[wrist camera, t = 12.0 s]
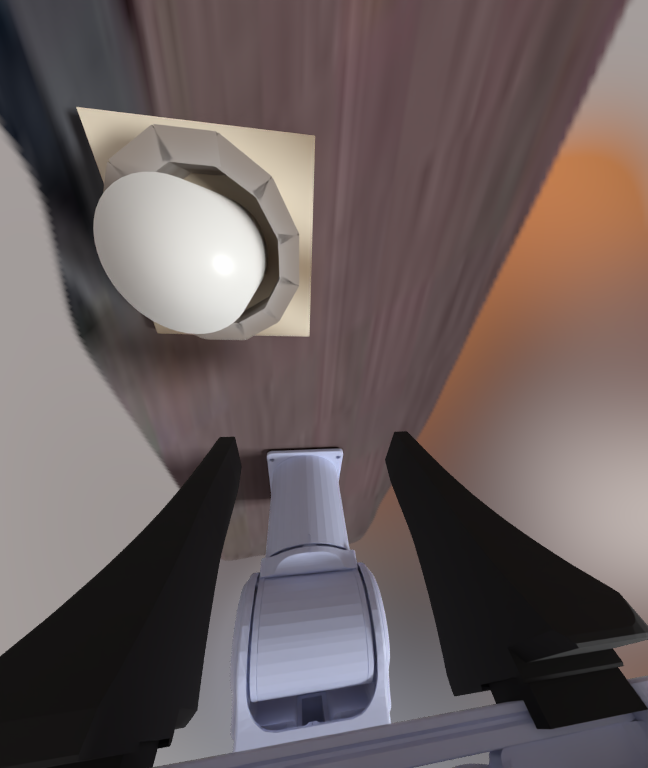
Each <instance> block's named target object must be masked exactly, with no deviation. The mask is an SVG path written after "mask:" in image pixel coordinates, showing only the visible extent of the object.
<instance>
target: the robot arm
mask: <svg viewBox="0 0 648 768" xmlns="http://www.w3.org/2000/svg"><path fill="white" fill-rule="evenodd" d="M342 457H343V451H342V449H339V448H337V449H311V450H286V451H270V452H268V453H267V462H268V471H269V479H270V488H271V503H270V514H269V525H268V536H267V547H266V558H262V560H261V569H260V573H253V574H252V575H251V577H250V579H249V580H248V581H247V582H246V584H245V585H244V587H243V589H242V592H241V596H240V600H239V604H238V609H237V615H236V621H235V628H234V635H233V643H232V655H231V670H230V683H231V691H232V718H231V719H232V720H231V738H232V740H233V741H234V743H233V753H228V754H223V755H217V756H212V757H207V758H201V759H196V760H190V761H185V762H179V763H174V764H169V765H163V766H158V767H153V764H154V760H155V756H156V752H157V749H158V748H163V747H169V746H170V745H171V742H172V738H173V734H174V730H175V729H179V728H184V727H185V726H186V725H187V724H188V723H189V721H190V720H191V718H192V717H193V716H194V714H195V712H196V711H197V708H198V700H199V692H200V685H201V677H202V670H203V663H204V655H205V648H206V641H207V635H208V628H209V622H210V615H211V609H212V603H213V597H214V591H215V585H216V579H217V574H218V568H219V563H220V558H221V553H222V549H223V545H224V541H225V537H226V533H227V530H228V526H229V522H230V518H231V515H232V511H233V507H234V503H235V500H236V496H237V492H238V487H239V480H240V473H241V462H240V458H239V453H238V448H237V444H236V439H235V437H220V438H219V439H218V440H217V441H216V443H215V444H214V446H213V447H212V448H211V450H210V451H209V453H208V454H207V455H206V457H205V458H204V459H203V461H202V462H201V463H200V465H199V466H198V467H197V469H196V470H195V471H194V472H193V474H192V475H191V476H190V478H189V479H188V480H187V481H186V483H185V484H184V485H183V486H182V487H181V489H180V490H179V491H178V492H177V493H176V495H175V496H174V497H173V498H172V499H171V500H170V502H169V503H168V504H167V505H166V506H165V507H164V508H163V510H162V511H161V512H160V513H159V514H158V515H157V516H156V517H155V518H154V519H153V520H152V521H151V522H150V524H149V525H148V526H147V527H146V528H145V529H144V530H143V531H142V532H141V533H140V534H139V535H138V536H137V537H136V538H135V539H134V540H133V541H132V542H131V543H130V544H129V545H128V546H127V547H126V548H125V549H124V550H123V551H122V552H120V554H118V556H116V557H115V558H114V559H113V560H112V561H111V562H110V563H109V564H108V565H107V566H106V567H105V568H104V569H103V570H101V571H100V572H99V573H98V574H97V575H96V576H95V577H94V578H93V579H91V580H90V581H89V582H88V583H87V584H86V585H85V586H83V587H82V588H81V589H80V590H79V591H78V592H77V593H76V594H74V595H73V596H72V597H71V598H70V599H69V600H67V601H66V602H65V603H64V604H63V605H62V606H61V607H60V608H58V609H57V610H56V611H55V612H54V613H52V614H51V615H50V616H49V617H48V618H47V619H45V620H44V621H43V622H42V623H41V624H39V625H38V626H37V627H36V628H34V629H33V630H32V631H31V632H30V633H28V634H27V635H26V636H25V637H23V638H22V639H21V640H20V641H18V642H17V643H16V644H15V645H14V646H12V647H11V648H10V649H9V650H8V651H6V652H5V653H4V654H2V655H1V656H0V768H414V767H418V766H423V765H428V764H432V763H437V762H442V761H446V760H452V759H456V758H461V757H466V756H471V755H475V754H480V753H485V752H490V753H489V758H490V761H489V765H487V764H463V765H459V766H455V767H453V768H648V676H643V677H638V678H632V679H626V678H625V676H624V675H623V674H622V672H621V671H620V669H619V668H618V667H620V666H623V662H622V661H621V659H620V658H619V657H618V655H617V654H616V652H615V651H614V650H613V648H616V647H620V646H624V645H628V644H632V643H636V642H640V641H644V640H648V625H647V624H646V623H645V622H644V621H643V620H642V619H641V617H640V616H639V615H638V614H637V613H636V612H635V610H634V609H633V608H632V607H631V606H630V605H629V604H628V602H627V601H626V600H625V599H624V598H623V597H622V596H621V595H620V593H619V592H617V591H615V590H613V589H612V588H610V587H609V586H607V585H605V584H603V583H602V582H600V581H599V580H597V579H595V578H593V577H592V576H590V575H588V574H587V573H585V572H583V571H582V570H580V569H578V568H576V567H575V566H573V565H572V564H570V563H568V562H567V561H565V560H563V559H562V558H560V557H559V556H557V555H556V554H554V553H553V552H551V551H550V550H548V549H547V548H545V547H543V546H542V545H540V544H539V543H537V542H536V541H535V540H533V539H532V538H530V537H529V536H527V535H526V534H524V533H523V532H522V531H520V530H518V529H517V528H516V527H514V526H513V525H512V524H510V523H509V522H507V521H506V520H504V519H503V518H502V517H501V516H499V515H498V514H497V513H495V512H494V511H493V510H492V509H490V508H489V507H488V506H487V505H485V504H484V503H483V502H482V501H480V500H479V499H478V498H477V497H475V496H474V495H473V494H472V493H471V492H469V491H468V490H467V489H466V488H465V487H464V486H463V485H461V484H460V483H459V482H458V481H457V480H456V479H454V477H453V476H451V475H450V474H449V473H448V472H447V471H446V470H445V469H444V468H443V467H442V466H441V465H440V464H439V463H438V462H437V461H436V460H435V459H434V458H433V457H432V456H431V455H430V454H429V453H428V452H427V451H426V450H425V449H424V448H423V447H422V446H421V445H420V444H419V443H418V442H417V441H416V440H415V439H414V438H413V437H412V436H411V435H410V434H409V433H408V432H407V431H405V432H394V435H393V438H392V441H391V444H390V447H389V450H388V453H387V456H386V459H385V461H386V465H387V469H388V473H389V477H390V481H391V483H392V486H393V489H394V491H395V494H396V497H397V499H398V502H399V504H400V507H401V509H402V512H403V514H404V517H405V519H406V522H407V525H408V527H409V530H410V532H411V535H412V538H413V541H414V544H415V548H416V551H417V554H418V558H419V561H420V565H421V568H422V572H423V575H424V579H425V583H426V586H427V590H428V594H429V598H430V602H431V606H432V610H433V614H434V618H435V622H436V627H437V631H438V636H439V640H440V645H441V649H442V653H443V658H444V663H445V668H446V673H447V677H448V679H449V683H450V686H451V689H452V692H453V694H454V696H460V695H465V694H471V693H476V692H482V691H488V690H491V692H492V694H493V697H494V699H495V702H496V704H493V705H488V706H482V707H477V708H472V709H466V710H461V711H456V712H450V713H445V714H439V715H434V716H428V717H423V718H418V719H412V720H407V721H401V722H396V723H391V721H390V713H389V712H390V710H391V699H390V688H389V663H390V646H389V636H388V628H387V622H386V616H385V612H384V607H383V602H382V599H381V594H380V591H379V588H378V585H377V582H376V580H375V577H374V575H373V574H372V572H371V571H370V570H369V569H368V568H367V566H366V565H365V564H364V563H361V562H360V563H357V561H356V555H355V551H354V550H349V544H348V537H347V531H346V525H345V519H344V513H343V507H342V501H341V495H340V489H339V483H338V481H339V475H340V469H341V463H342Z"/></svg>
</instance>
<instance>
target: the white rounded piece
mask: <svg viewBox="0 0 648 768" xmlns="http://www.w3.org/2000/svg"><path fill="white" fill-rule="evenodd" d="M93 231H94V241H95V245H96V249H97V253H98V256H99V259H100V261H101V264H102V266H103V268H104V270H105V272H106V274H107V276H108V277H109V279H110V280H111V282H112V284H113V285H114V286H115V287H116V289H117V290H118V291H119V293H120V294H121V295H122V296H123V297H124V298H125V299H126V300H127V301H128V302H129V303H130V304H131V305H132V306H133V307H134V308H135V309H136V310H138V311H139V312H140V313H142V314H143V315H144V316H146V317H148V318H149V319H151V320H152V321H154V322H156V323H158V324H160V325H162V326H164V327H167V328H169V329H172V330H175V331H179V332H184V333H190V334H206V333H212V332H216V331H219V330H222V329H224V328H226V327H228V326H229V325H231V324H232V323H234V322H235V321H236V320H237V319H238V318H239V317H240V316H241V314H242V313H243V312H244V310H245V308H246V307H247V305H248V303H249V302H250V300H251V298H252V297H253V295H254V293H255V292H256V290H257V288H258V287H259V285H260V283H261V282H262V280H263V278H264V276H265V274H266V271H267V267H268V260H269V253H268V246H267V242H266V238H265V236H264V233H263V231H262V229H261V227H260V225H259V224H258V222H257V220H256V219H255V218H254V217H253V215H252V214H251V213H250V212H249V211H248V210H247V209H246V208H245V207H243V206H242V205H241V204H240V203H238V202H236V201H235V200H233V199H231V198H229V197H226V196H224V195H221V194H219V193H216V192H214V191H211V190H209V189H206V188H204V187H201V186H199V185H196V184H194V183H191V182H189V181H186V180H184V179H181V178H178V177H175V176H172V175H169V174H165V173H159V172H138V173H132V174H129V175H126V176H124V177H121V178H120V179H118V180H117V181H115V182H113V183H112V184H111V185H110V186H109V187H108V188H107V189H106V190H105V192H104V193H103V195H102V196H101V198H100V200H99V202H98V204H97V207H96V210H95V215H94V225H93Z"/></svg>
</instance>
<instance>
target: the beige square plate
mask: <svg viewBox="0 0 648 768" xmlns="http://www.w3.org/2000/svg"><path fill="white" fill-rule="evenodd" d="M76 108H77V110H78V113H79V116H80V119H81V121H82V124H83V127H84V130H85V133H86V135H87V138H88V141H89V144H90V147H91V149H92V152H93V155H94V158H95V160H96V163H97V166H98V169H99V172H100V174H101V177H102V180H103V183H104V189H103V193H104V192H105V190H106V189H107V188H108V187H109V186H110V185H111V184H112V183H113V182H115V181H117V180H118V179H120V178H121V177H124V176H126V175H129V174H132V173H138V172H159V173H165V174H169V175H172V176H175V177H178V178H181V179H184V180H186V181H189V182H191V183H194V184H196V185H199V186H201V187H204V188H206V189H209V190H211V191H214V192H216V193H219V194H221V195H224V196H226V197H229V198H231V199H233V200H235V201H236V202H238V203H240V204H241V205H242V206H243V207H245V208H246V209H247V210H248V211H249V212H250V213H251V214H252V215H253V217H254V218H255V219H256V220H257V222H258V224H259V225H260V227H261V229H262V231H263V233H264V236H265V238H266V242H267V246H268V253H269V260H268V267H267V271H266V274H265V276H264V278H263V280H262V282H261V283H260V285H259V287H258V288H257V290H256V292H255V293H254V295H253V297H252V298H251V300H250V302H249V303H248V305H247V307H246V308H245V310H244V312H243V313H242V314H241V316H240V317H239V318H238V319H237V320H236V321H235V322H234V323H232V324H231V325H229V326H228V327H226V328H224V329H222V330H219V331H216V332H212V333H206V334H194V335H196V336H198V337H201V338H203V339H204V338H205V339H211V340H245V339H246V340H247V339H249V338H250V337H252V336H254V335H263V336H309V329H310V293H311V258H312V222H313V187H314V151H315V136H312V135H304V134H296V133H287V132H279V131H271V130H263V129H254V128H246V127H238V126H229V125H221V124H213V123H204V122H196V121H188V120H179V119H171V118H163V117H155V116H146V115H138V114H130V113H121V112H113V111H105V110H96V109H88V108H80V107H76ZM153 322H154V321H153ZM154 325H155V327H156V330H157V333H158V334H190V333H184V332H179V331H175V330H172V329H169V328H167V327H164V326H162V325H160V324H158V323H156V322H154Z"/></svg>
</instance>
